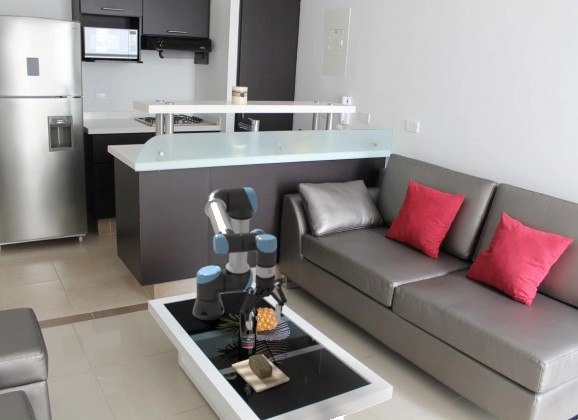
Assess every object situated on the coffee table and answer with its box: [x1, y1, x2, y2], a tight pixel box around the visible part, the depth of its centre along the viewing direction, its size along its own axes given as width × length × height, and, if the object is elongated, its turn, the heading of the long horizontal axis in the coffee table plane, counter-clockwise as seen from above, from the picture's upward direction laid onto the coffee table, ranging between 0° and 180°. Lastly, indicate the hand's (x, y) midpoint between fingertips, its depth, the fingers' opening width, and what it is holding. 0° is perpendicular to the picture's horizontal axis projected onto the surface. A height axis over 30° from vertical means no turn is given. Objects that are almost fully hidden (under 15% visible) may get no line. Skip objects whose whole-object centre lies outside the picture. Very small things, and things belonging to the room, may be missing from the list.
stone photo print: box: [231, 354, 290, 393], centre depth 222 cm, size 20×15×1 cm
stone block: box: [248, 353, 272, 378], centre depth 221 cm, size 6×12×5 cm, turn 31°
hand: (263, 323), depth 217 cm, fingers open, 13 cm apart
